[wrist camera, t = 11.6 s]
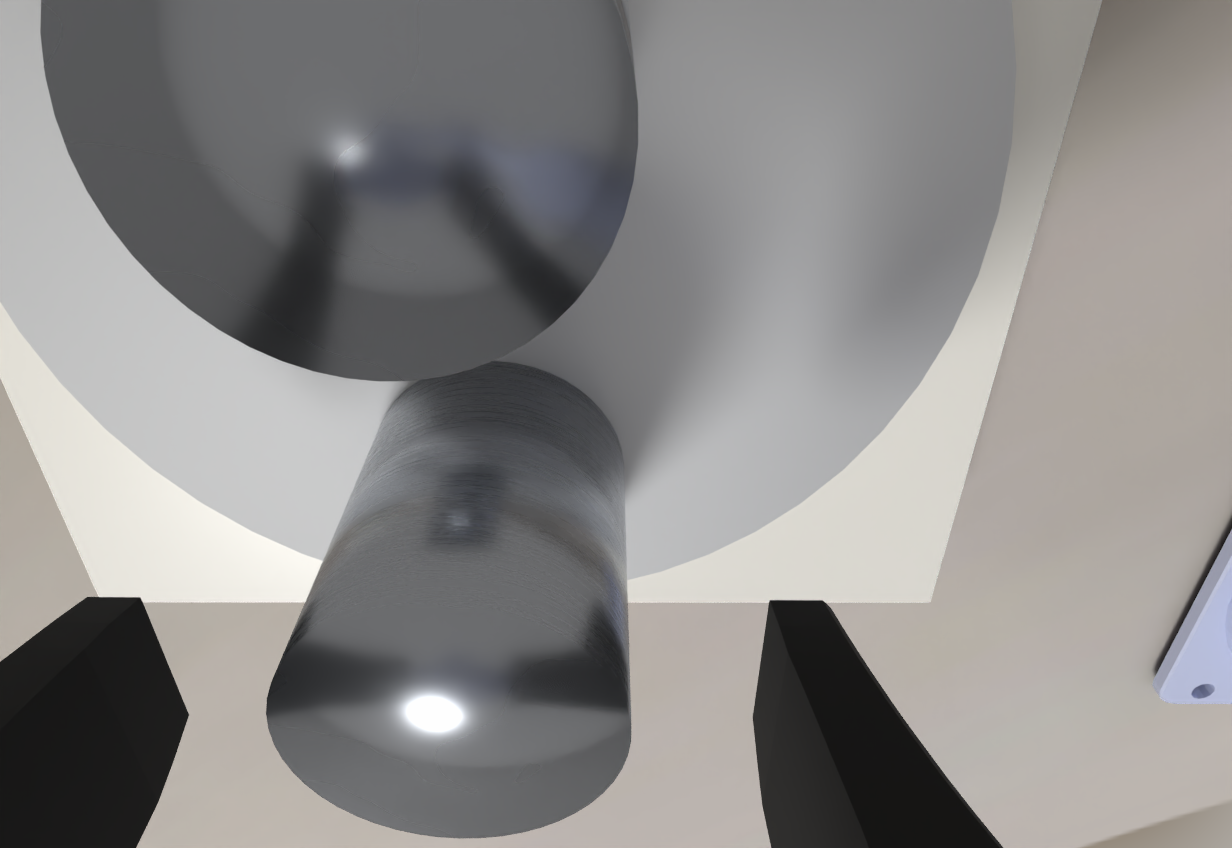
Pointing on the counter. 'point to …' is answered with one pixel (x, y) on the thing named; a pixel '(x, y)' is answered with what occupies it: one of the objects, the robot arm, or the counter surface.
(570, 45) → the cylinder
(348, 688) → the cylinder
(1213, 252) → the counter surface
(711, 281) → the scale
